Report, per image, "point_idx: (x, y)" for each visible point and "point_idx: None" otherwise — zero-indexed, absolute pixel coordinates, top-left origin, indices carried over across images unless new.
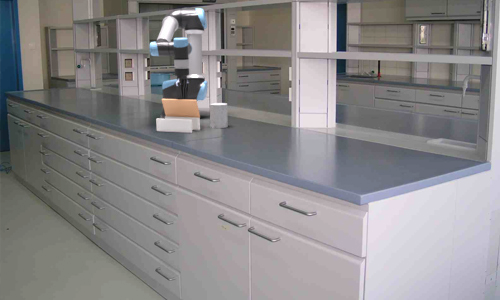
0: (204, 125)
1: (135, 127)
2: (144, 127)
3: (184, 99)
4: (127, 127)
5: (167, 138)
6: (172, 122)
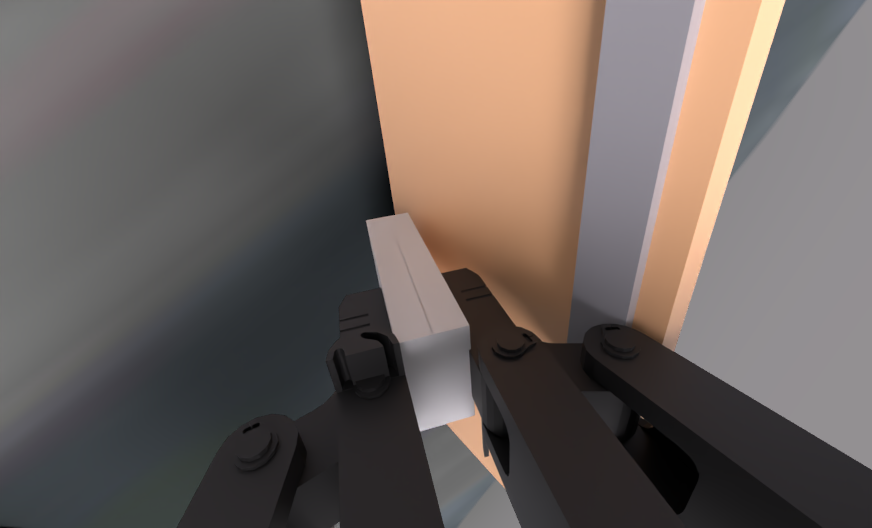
0: (30, 112)
1: (462, 459)
2: (443, 432)
3: (694, 234)
4: (476, 480)
5: (817, 10)
6: None
